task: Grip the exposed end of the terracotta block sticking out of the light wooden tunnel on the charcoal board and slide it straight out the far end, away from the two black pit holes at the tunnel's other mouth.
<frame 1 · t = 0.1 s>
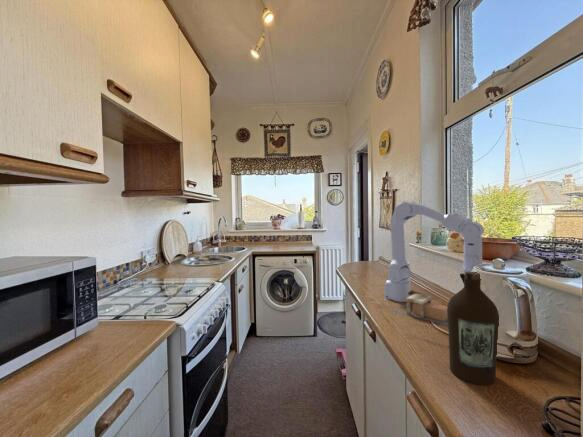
hand: (472, 291, 101), 10 cm above the countertop, tool pointing down, fingers open, 7 cm apart
terracotta block: (430, 315, 102), point 1 cm above the countertop, touching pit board
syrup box: (403, 290, 138), on the countertop
olive oil: (471, 374, 68), on the countertop
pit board: (425, 317, 103), on the countertop
wooden tunnel: (418, 315, 105), resting on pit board
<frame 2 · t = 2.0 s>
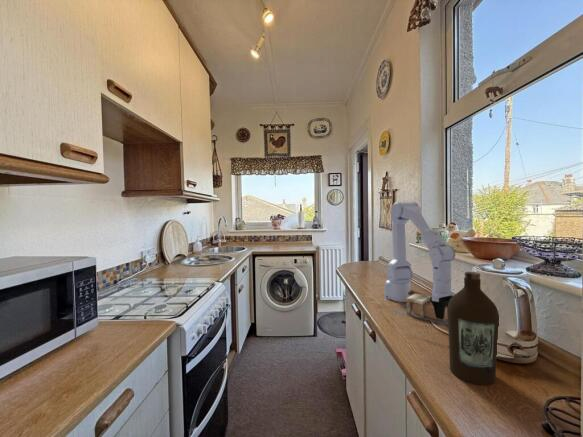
hand: (441, 316, 99), 2 cm above the countertop, tool pointing down, fingers closed on terracotta block, 4 cm apart
terracotta block: (430, 315, 102), point 1 cm above the countertop, touching gripper, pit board
everything else where it was.
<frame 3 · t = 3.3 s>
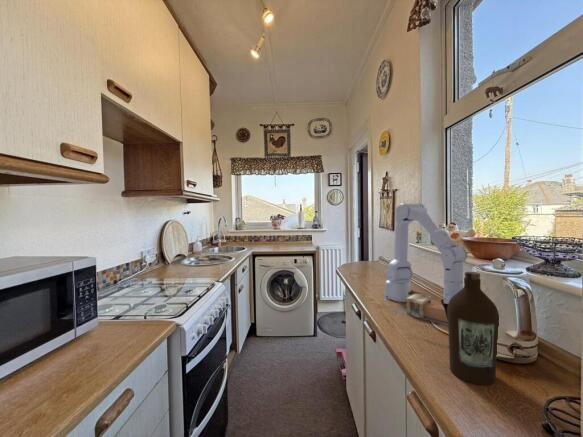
hand: (453, 319, 96), 2 cm above the countertop, tool pointing down, fingers closed on terracotta block, 4 cm apart
terracotta block: (440, 318, 100), point 1 cm above the countertop, touching gripper
everything else where it was.
when the fingers open (2 cm above the countertop, at t = 5.0 s): terracotta block stays where it is, resting on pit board.
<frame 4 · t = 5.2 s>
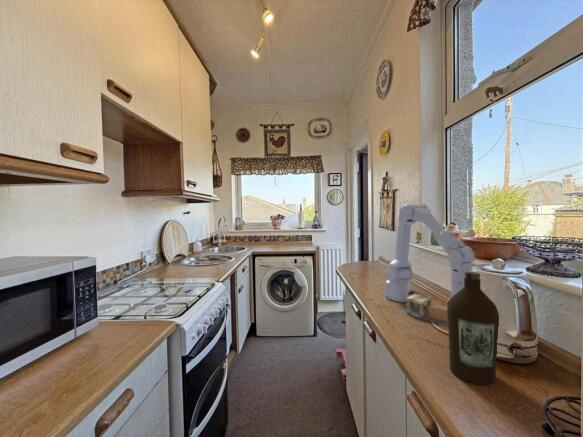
hand: (460, 321, 95), 2 cm above the countertop, tool pointing down, fingers open, 6 cm apart
terracotta block: (446, 319, 98), point 1 cm above the countertop, touching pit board
everything else where it was.
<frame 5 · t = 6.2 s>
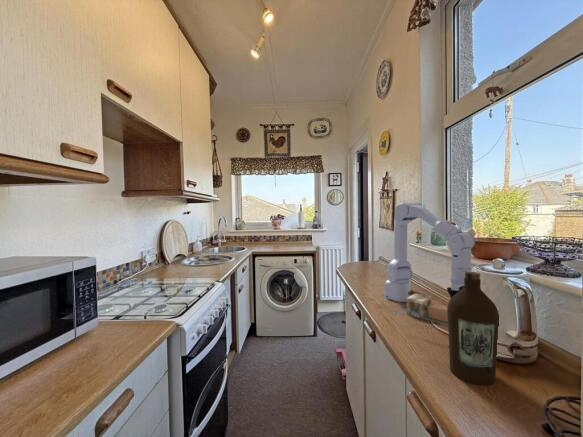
hand: (460, 306, 95), 7 cm above the countertop, tool pointing down, fingers open, 7 cm apart
nothing on the countertop moved.
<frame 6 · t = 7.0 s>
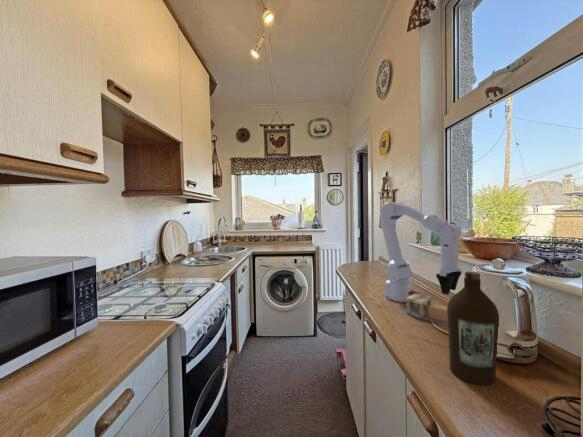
hand: (448, 291, 104), 9 cm above the countertop, tool pointing down, fingers open, 7 cm apart
nothing on the countertop moved.
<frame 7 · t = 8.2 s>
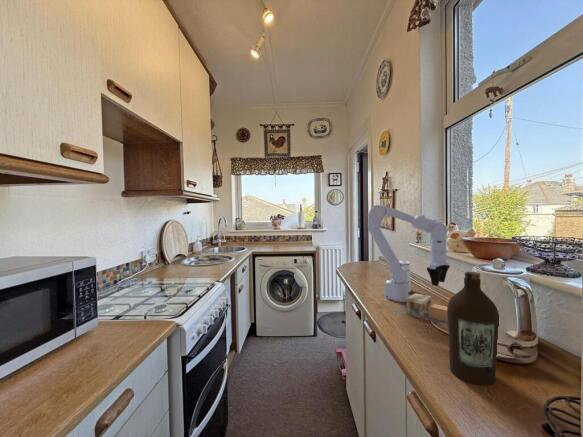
hand: (438, 283, 115), 9 cm above the countertop, tool pointing down, fingers open, 7 cm apart
nothing on the countertop moved.
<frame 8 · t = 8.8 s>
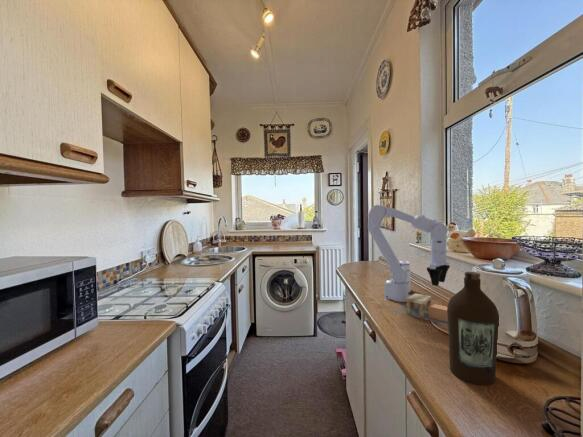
hand: (438, 283, 115), 9 cm above the countertop, tool pointing down, fingers open, 7 cm apart
nothing on the countertop moved.
at the end: terracotta block 1.6 cm from the target spot, point 1.2 cm above the countertop; terracotta block tilted 0°; the gripper is holding nothing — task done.
